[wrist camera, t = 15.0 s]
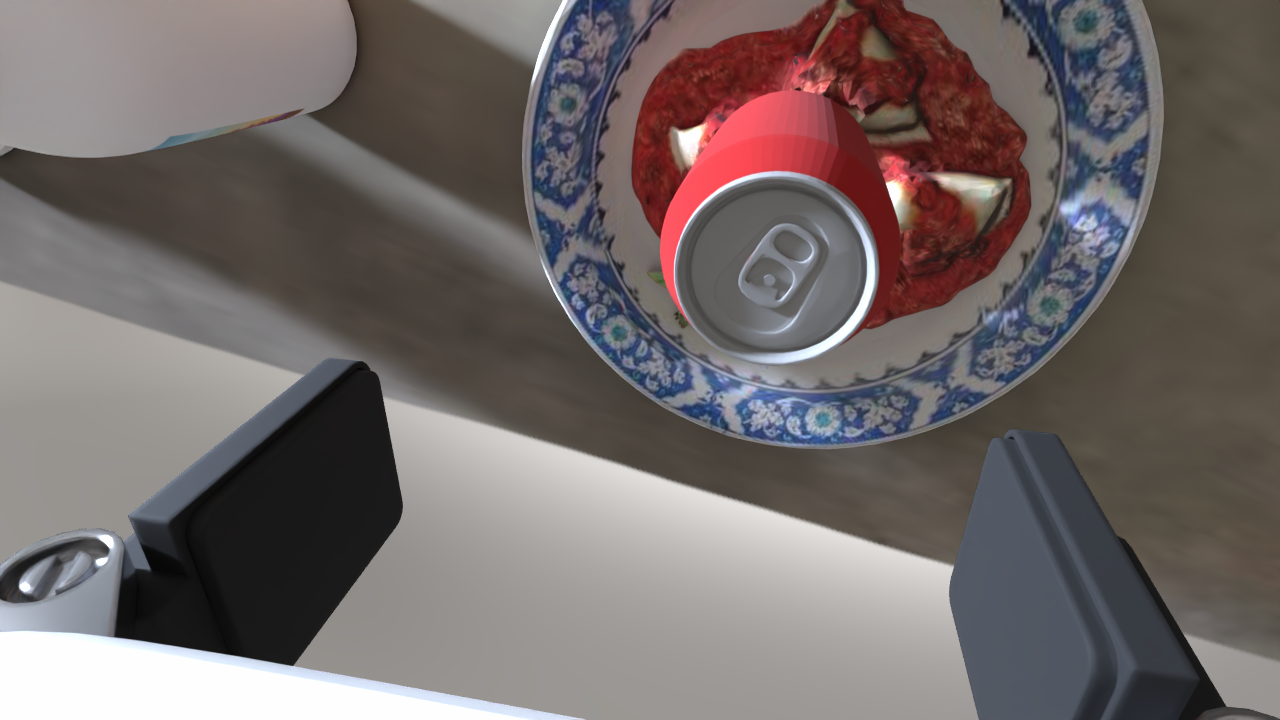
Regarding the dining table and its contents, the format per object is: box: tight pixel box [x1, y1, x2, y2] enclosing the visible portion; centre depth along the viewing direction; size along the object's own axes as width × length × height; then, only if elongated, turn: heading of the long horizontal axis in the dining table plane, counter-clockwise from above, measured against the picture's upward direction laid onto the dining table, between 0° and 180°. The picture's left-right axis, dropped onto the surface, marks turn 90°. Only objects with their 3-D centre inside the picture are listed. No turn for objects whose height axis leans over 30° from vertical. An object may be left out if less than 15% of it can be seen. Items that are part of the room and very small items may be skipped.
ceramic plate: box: [522, 0, 1164, 449], centre depth 31 cm, size 26×26×3 cm
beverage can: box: [660, 90, 901, 366], centre depth 24 cm, size 7×7×12 cm
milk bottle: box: [0, 0, 357, 158], centre depth 25 cm, size 8×8×20 cm
